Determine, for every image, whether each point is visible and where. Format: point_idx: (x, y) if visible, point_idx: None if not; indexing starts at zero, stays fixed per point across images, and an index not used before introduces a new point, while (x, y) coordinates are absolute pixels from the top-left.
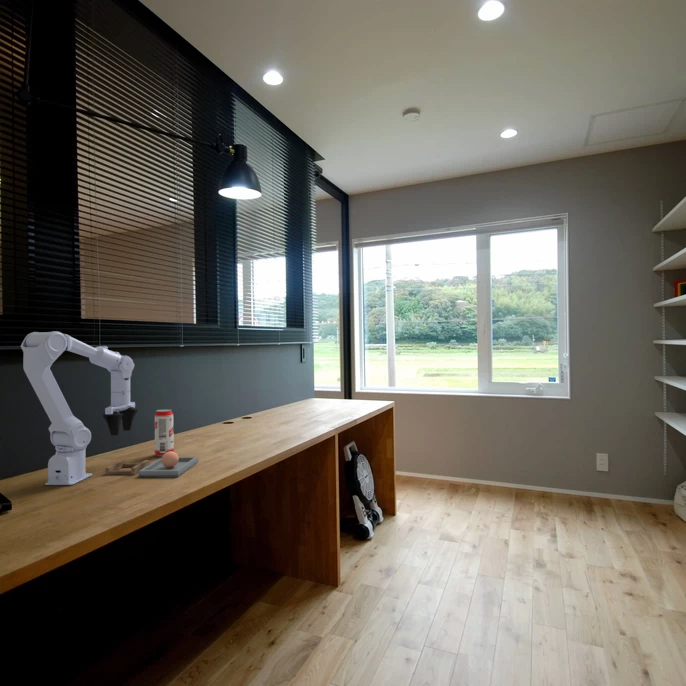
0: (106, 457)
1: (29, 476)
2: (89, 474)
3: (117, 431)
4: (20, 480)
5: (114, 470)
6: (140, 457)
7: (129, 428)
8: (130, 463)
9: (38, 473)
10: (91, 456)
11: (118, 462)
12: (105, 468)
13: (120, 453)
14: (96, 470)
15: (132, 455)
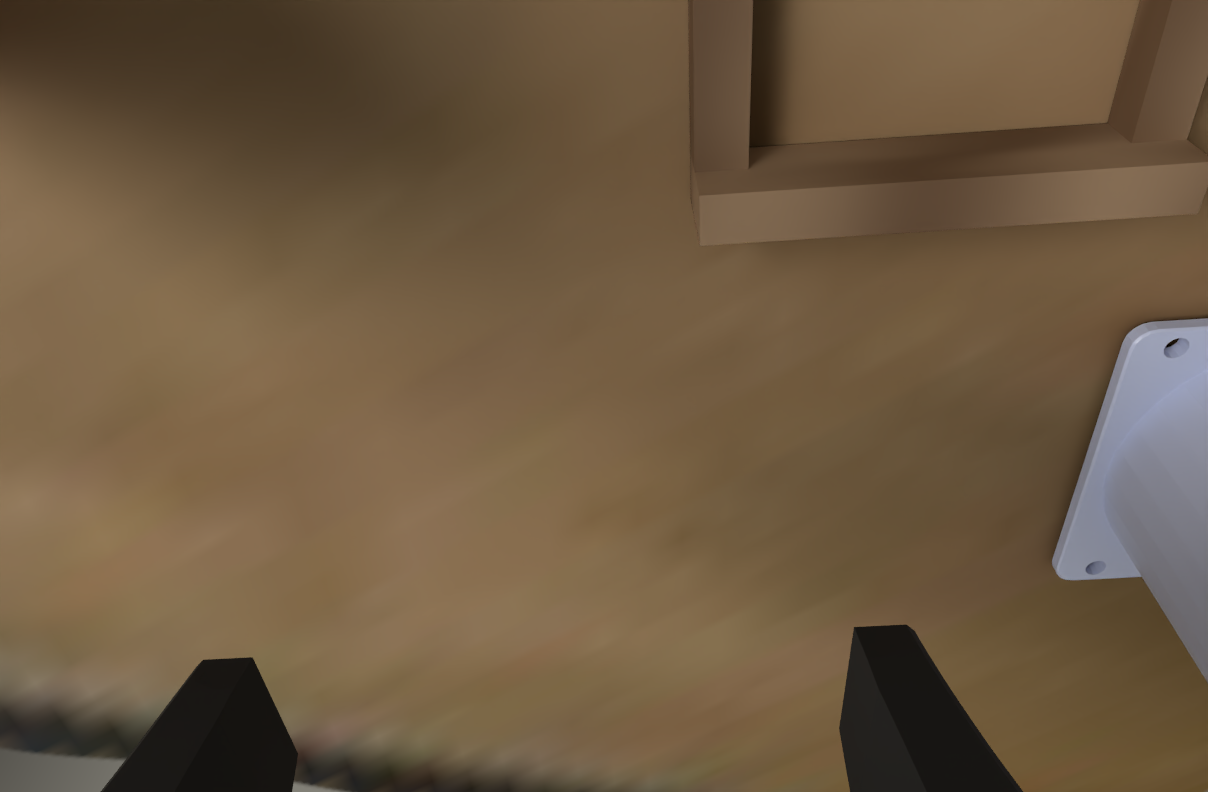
0: (294, 608)
1: None
2: (1159, 350)
3: (962, 707)
4: (1111, 774)
5: (1155, 73)
6: (143, 208)
7: (234, 712)
8: (713, 56)
9: None
10: (302, 738)
11: (850, 211)
12: (1198, 208)
13: (76, 571)
14: (877, 405)
15: (93, 388)
